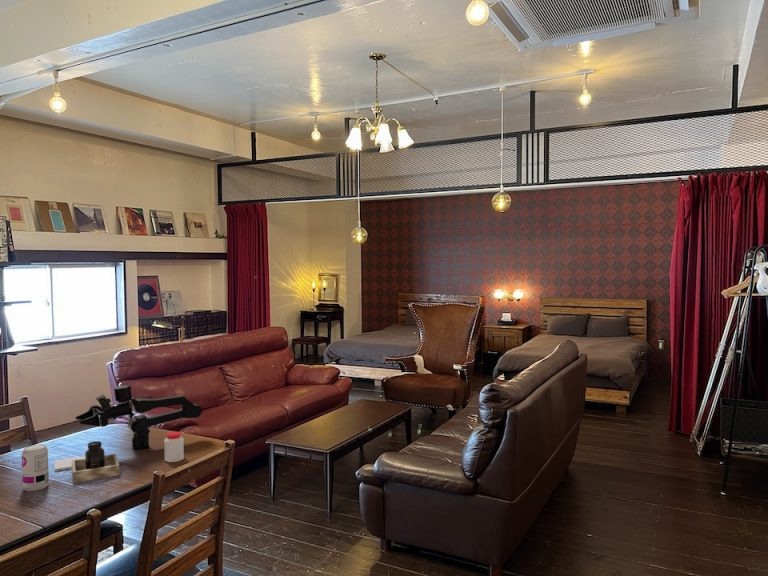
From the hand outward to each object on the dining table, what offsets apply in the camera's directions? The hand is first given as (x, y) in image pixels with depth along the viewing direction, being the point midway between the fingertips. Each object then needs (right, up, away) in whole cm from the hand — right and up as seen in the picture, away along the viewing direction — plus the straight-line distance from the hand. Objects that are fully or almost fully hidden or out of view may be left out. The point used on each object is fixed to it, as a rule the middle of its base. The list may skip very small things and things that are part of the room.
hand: (77, 420), depth 242 cm
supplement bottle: (+16, -17, -17) cm, 29 cm away
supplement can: (+2, -18, -32) cm, 36 cm away
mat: (+1, -17, -7) cm, 18 cm away
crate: (+16, -17, -17) cm, 29 cm away
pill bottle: (+41, -17, -1) cm, 45 cm away
